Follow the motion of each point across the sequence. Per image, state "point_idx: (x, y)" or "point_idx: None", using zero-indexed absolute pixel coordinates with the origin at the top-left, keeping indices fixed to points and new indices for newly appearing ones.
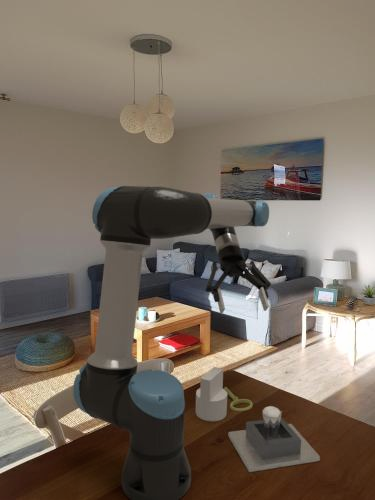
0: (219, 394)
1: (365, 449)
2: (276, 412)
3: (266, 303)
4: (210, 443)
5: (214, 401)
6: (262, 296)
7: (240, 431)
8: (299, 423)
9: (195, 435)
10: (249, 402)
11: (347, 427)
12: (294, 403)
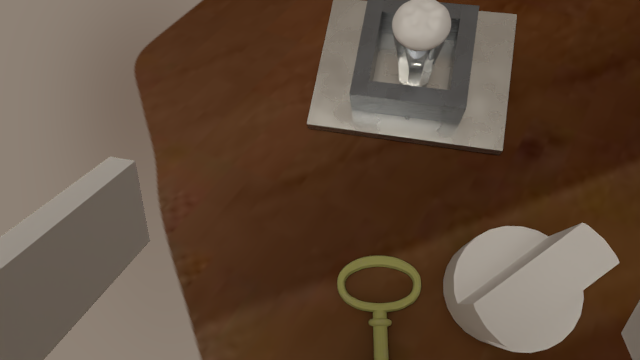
0: (490, 265)
1: (209, 5)
2: (416, 3)
3: (109, 176)
4: (563, 145)
5: (529, 229)
6: (36, 281)
7: (466, 141)
8: (272, 137)
9: (595, 193)
10: (344, 285)
11: (173, 81)
12: (209, 230)
